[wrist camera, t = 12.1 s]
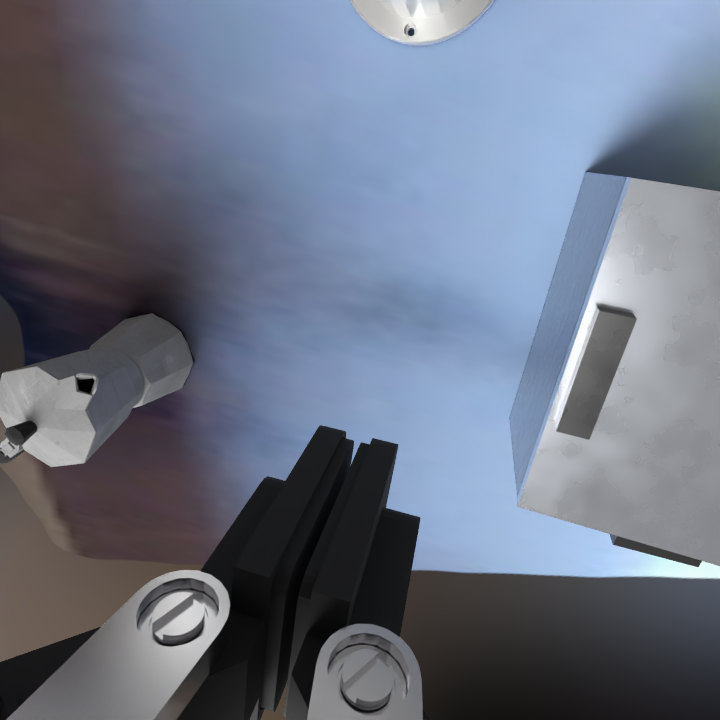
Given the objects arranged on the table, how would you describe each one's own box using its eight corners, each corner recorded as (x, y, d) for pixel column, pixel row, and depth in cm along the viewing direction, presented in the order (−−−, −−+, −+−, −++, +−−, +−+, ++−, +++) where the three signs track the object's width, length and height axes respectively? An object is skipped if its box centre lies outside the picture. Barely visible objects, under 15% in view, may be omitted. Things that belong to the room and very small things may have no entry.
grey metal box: (598, 129, 37) (646, 116, 26) (936, 177, 33) (1154, 187, 23) (501, 444, 48) (506, 527, 37) (746, 504, 45) (830, 614, 34)
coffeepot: (164, 283, 50) (10, 343, 34) (224, 357, 52) (104, 448, 35) (80, 358, 56) (-85, 440, 40) (136, 422, 58) (-1, 526, 41)
